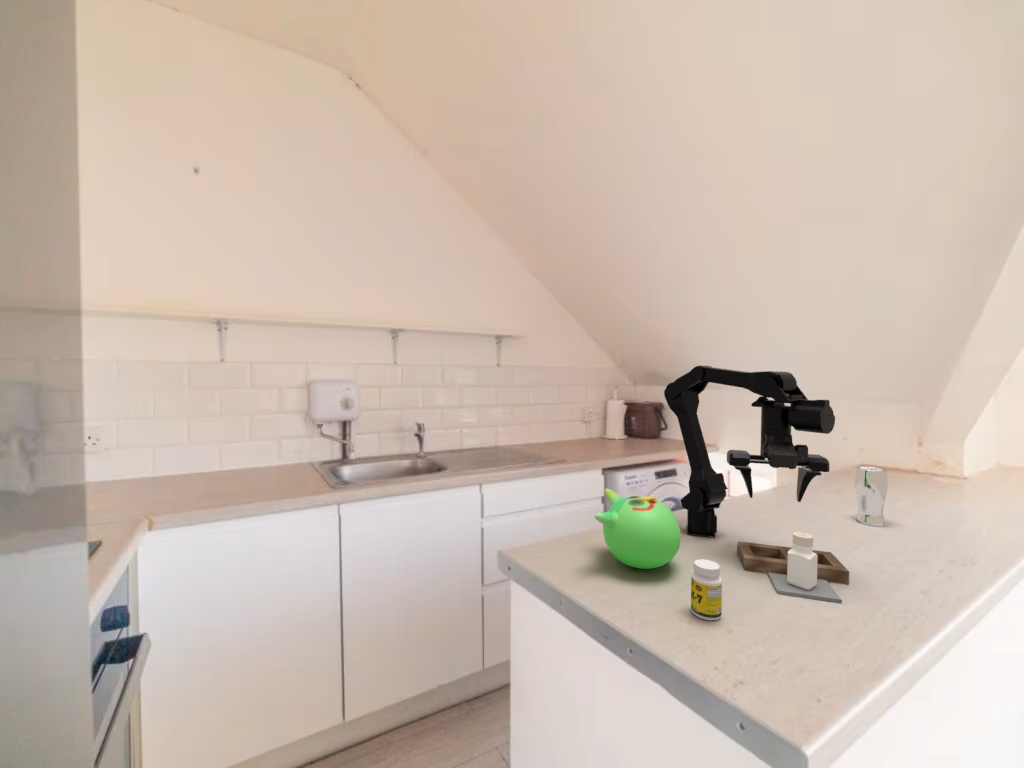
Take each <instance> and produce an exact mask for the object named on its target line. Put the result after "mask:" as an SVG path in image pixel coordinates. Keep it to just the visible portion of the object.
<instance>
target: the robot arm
mask: <svg viewBox="0 0 1024 768" xmlns="http://www.w3.org/2000/svg"><path fill="white" fill-rule="evenodd" d="M709 383H711V384H712V383H713V384H718V385H725V386H728V387H729V386H730V387H736V388H742V389H745V390H748V391H749V392H751V393H753V394H755V395H759V396H758V398H757V399H756V400H754V401H753V402H752V403H751V407H753V408H754V407H755V408H761V409H760V411H761V412H760V451H759V453H760V454H750V453H749V452H748V451H747V450H740V449H739V450H738V449H729V450H727V452H726V463H727V464H728V465H729V466H733V468H734V469H735V470H738V471H739V472H740V474H741V476H742V478H743V481H744V484H745V487H746V489H747V493H748V497H749V498H751V499H752V498H753V496H754V495H753V491H754V490H753V482H752V468H751V467H750V466H749V465H750V464H762V465H769V466H770V467H771V468H774V469H779V468H785V469H788V470H795V469H797V483H796V502H798V503H801V502H802V500H803V498H804V495H805V493H806V490H807V488H808V486H809V485H810V483H811V482H812V480H813V479H814V478H815V477H817V476H822V473H829V472H830V461H829V459H827V458H826V457H824V456H823V455H820V454H811V453H809V447H808V445H807V444H796V445H794V442H793V436H792V428H793V429H794V430H795V431H798V432H804V433H817V434H825V435H828V434H830V433H831V432H832V431H833V430H834V428H835V425H836V424H835V423H836V416H835V415H834V413H835V412H834V411H833V408H832V407H831V405H830V400H829V399H816V400H815V399H808V398H807V396H806V395H805V394H804V393H803V391H802V390H801V388H800V387H799V386H798V381H797V379H796V377H795V376H794V375H793V373H791V372H788V371H773V370H772V371H770V370H769V371H767V370H766V371H750V372H749V371H743V370H742V371H741V370H734V369H728V368H720V367H713V366H711V365H696V366H694V367H693V368H692V369H691V370H690V371H689V372H687V373H685V374H683V375H682V376H680V377H678V378H676V379H675V380H674V381H673V382H669V383H668V384H667V385H666V387H665V389H664V390H663V395H664V398H665V399H664V400H666V403H667V405H668V407H669V409H670V411H672V412H673V414H674V415H675V416H676V418H677V421H678V425H679V428H680V433H681V437H682V441H683V444H684V448H685V452H686V455H687V459H688V464H689V466H690V475H689V478H688V488H689V492H687V494H685V495H684V496H683V497H682V498H681V499H680V504H681V507H682V509H683V510H687V511H686V514H687V515H686V525H685V526H686V527H685V528H686V533H687V535H690V536H691V535H692V536H699V537H709V538H716V534H717V532H718V530H717V529H718V516H717V514H716V512H715V509H720V506H721V504H722V502H723V501H724V500H725V498H726V497H727V490H729V489H728V487H727V484H726V482H725V478H724V474H723V473H722V472H716V471H715V470H714V468H713V467H712V464H711V460H710V457H709V453H708V449H707V446H706V442H705V438H704V435H703V431H702V428H701V423H700V420H699V416H698V408H699V404H700V397H699V395H700V394H701V393H703V392H704V391H705V389H706V387H707V386H708V384H709ZM769 398H771V399H769ZM787 404H790V405H787ZM797 467H798V468H797Z"/></svg>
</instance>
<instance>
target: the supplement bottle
mask: <svg viewBox="0 0 1024 768" xmlns="http://www.w3.org/2000/svg"><path fill="white" fill-rule="evenodd" d="M720 575H721V566H720V564H718V562H715V561H713V560H709V559H702V558H701V559H696V560H694V562H693V572H692V574H691V582H690V583H691V584H690V586H691V589H690V610H691V612H692V614H693V615H695V616H696V617H697V618H699V619H701V620H704V621H705V620H706V621H717V620H719V619H721V617H722V612H723V611H722V610H723V608H722V607H723V580H722V578H721V576H720Z"/></svg>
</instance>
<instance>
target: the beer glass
mask: <svg viewBox="0 0 1024 768" xmlns="http://www.w3.org/2000/svg"><path fill="white" fill-rule="evenodd" d="M855 468H856V469H855V476H854V478H855V479H854V488H855V495H856V500H857V509H858V510H857V515H856V518H855V519H856V522H858V523H859V524H861V525H862V524H863V525H867V526H870V527H871V526H872V527H884V526H885V525H886V523H885V519H884V506H885V502H886V497H887V493H888V486H889V485H888V484H889V483H888V470H887V469H885V468H882V467H881V468H880V467H875V466H862V465H861V466H856V467H855Z"/></svg>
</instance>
